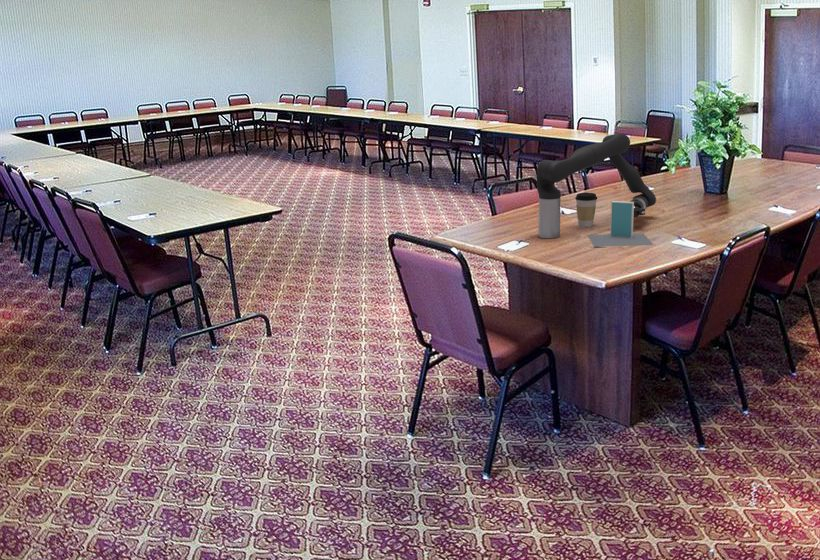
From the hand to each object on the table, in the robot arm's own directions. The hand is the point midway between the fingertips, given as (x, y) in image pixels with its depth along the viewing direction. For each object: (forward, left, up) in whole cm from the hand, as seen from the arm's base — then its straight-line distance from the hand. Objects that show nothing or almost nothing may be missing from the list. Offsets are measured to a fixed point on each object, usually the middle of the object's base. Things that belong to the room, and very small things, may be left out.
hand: (625, 215), depth 336 cm
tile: (-3, -6, -8) cm, 10 cm away
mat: (-5, -12, -8) cm, 15 cm away
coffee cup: (-15, +16, -9) cm, 23 cm away
